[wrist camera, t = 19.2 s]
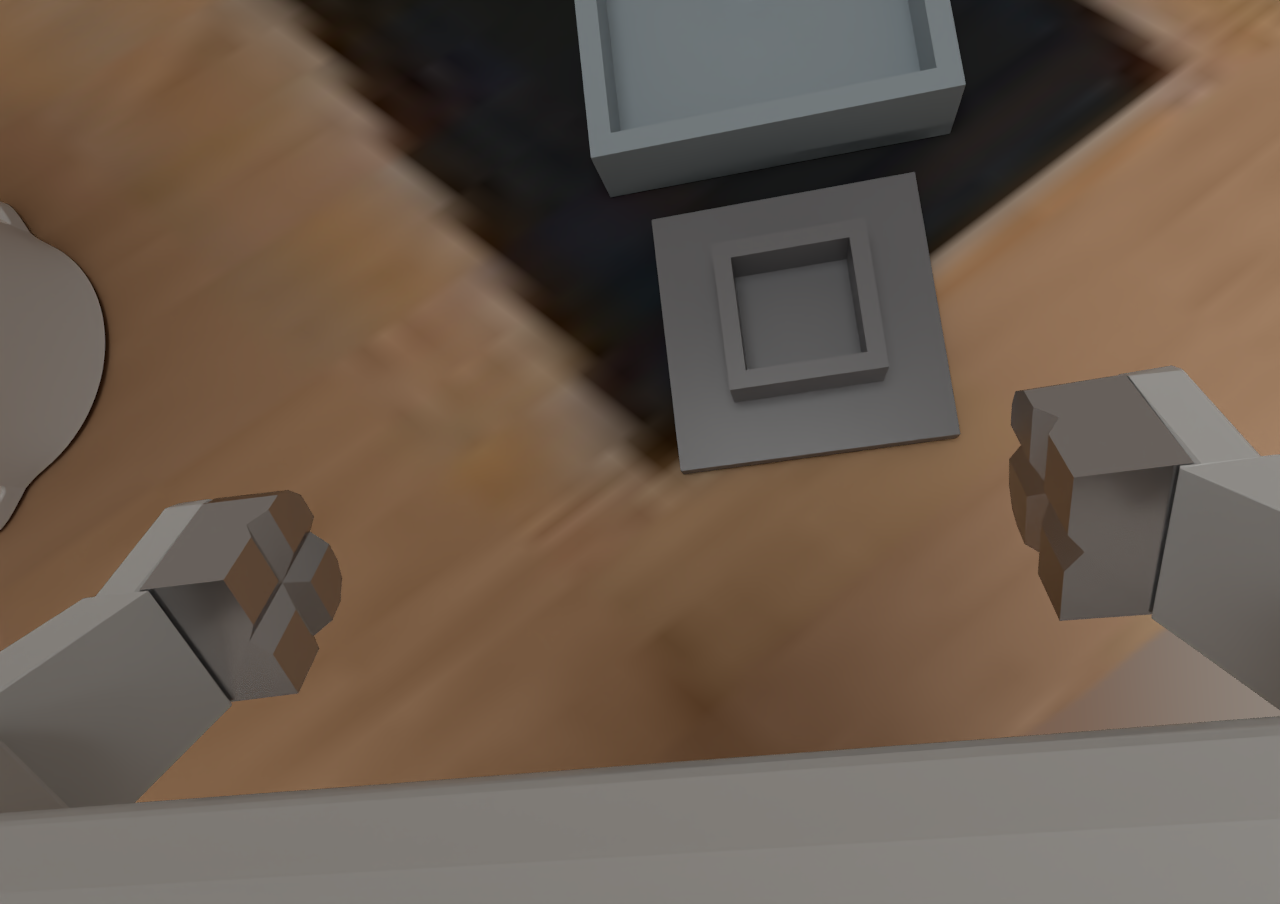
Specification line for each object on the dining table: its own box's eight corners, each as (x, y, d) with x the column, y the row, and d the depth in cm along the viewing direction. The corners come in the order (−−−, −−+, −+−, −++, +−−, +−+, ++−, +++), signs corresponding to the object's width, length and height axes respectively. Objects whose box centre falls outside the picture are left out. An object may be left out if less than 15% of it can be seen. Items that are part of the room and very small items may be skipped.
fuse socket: (683, 474, 40) (672, 463, 36) (655, 228, 42) (641, 196, 38) (956, 438, 38) (971, 423, 34) (911, 182, 40) (922, 144, 36)
